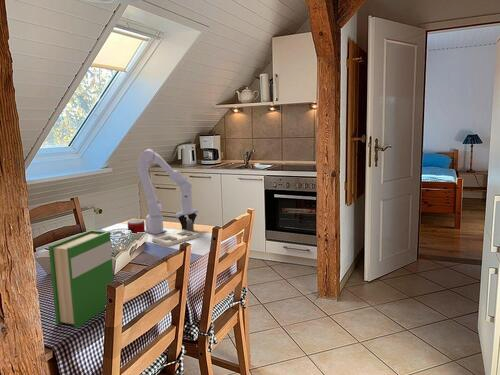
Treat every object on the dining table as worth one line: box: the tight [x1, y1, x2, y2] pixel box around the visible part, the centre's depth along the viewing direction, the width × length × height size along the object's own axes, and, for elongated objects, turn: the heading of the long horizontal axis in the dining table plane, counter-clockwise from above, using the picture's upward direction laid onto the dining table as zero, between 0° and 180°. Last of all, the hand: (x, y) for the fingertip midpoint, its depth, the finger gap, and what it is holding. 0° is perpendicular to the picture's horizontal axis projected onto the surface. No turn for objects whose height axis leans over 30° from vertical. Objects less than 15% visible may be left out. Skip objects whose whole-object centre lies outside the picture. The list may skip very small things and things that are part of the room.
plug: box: [181, 218, 195, 232], centre depth 218 cm, size 4×4×6 cm
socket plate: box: [151, 229, 200, 247], centre depth 203 cm, size 12×20×2 cm, turn 139°
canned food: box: [127, 218, 146, 233], centre depth 197 cm, size 8×8×11 cm
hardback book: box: [48, 229, 114, 329], centre depth 124 cm, size 18×7×24 cm, turn 162°
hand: (187, 228), depth 218 cm, fingers closed on plug, 4 cm apart
